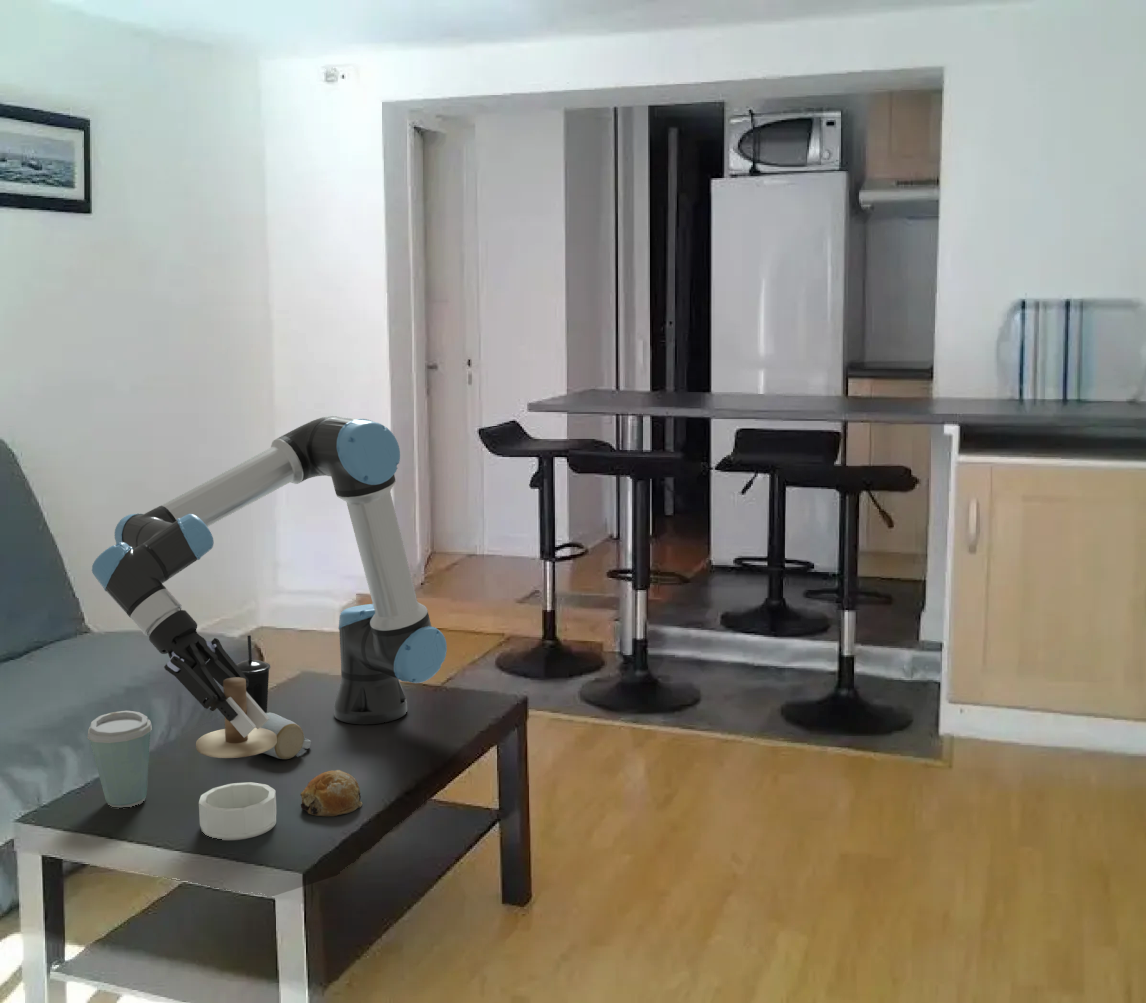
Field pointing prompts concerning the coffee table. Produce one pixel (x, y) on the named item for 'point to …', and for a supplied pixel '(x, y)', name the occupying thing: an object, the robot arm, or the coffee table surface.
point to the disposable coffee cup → (122, 756)
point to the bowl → (237, 811)
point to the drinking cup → (256, 678)
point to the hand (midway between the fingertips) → (256, 727)
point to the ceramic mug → (285, 737)
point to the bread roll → (331, 794)
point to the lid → (235, 730)
